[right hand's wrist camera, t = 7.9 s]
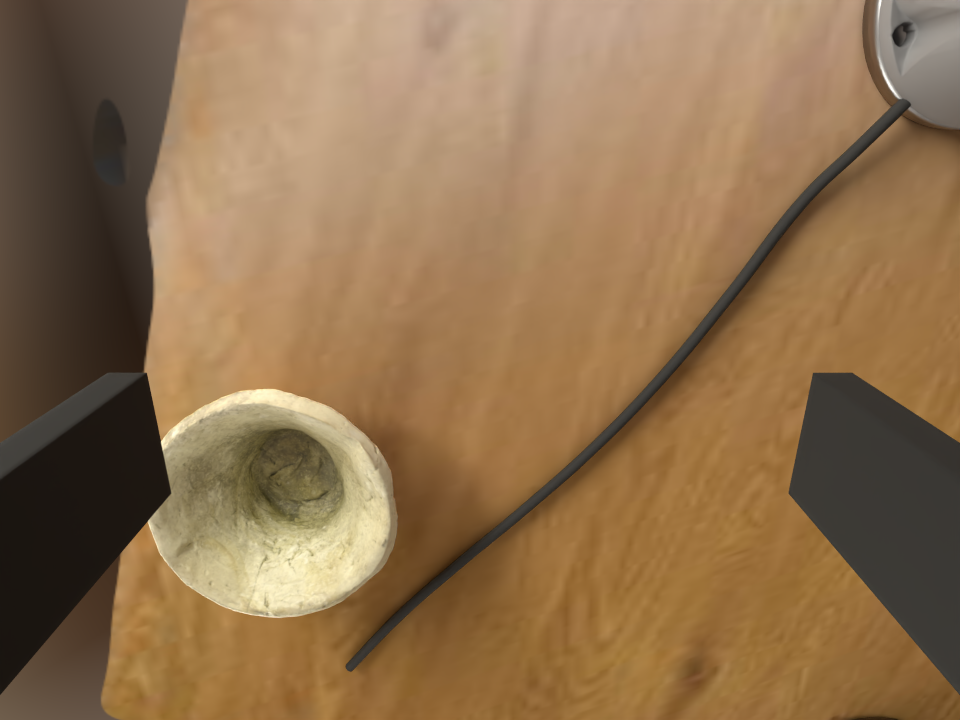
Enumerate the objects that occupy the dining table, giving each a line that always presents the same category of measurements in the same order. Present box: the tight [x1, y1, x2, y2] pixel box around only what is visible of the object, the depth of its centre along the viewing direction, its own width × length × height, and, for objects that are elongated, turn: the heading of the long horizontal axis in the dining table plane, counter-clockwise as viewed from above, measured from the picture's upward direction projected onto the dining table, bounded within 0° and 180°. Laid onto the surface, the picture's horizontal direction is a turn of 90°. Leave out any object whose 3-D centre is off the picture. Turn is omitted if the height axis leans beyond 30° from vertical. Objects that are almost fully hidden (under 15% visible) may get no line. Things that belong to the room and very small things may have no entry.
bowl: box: [148, 389, 398, 618], centre depth 44 cm, size 14×18×15 cm
